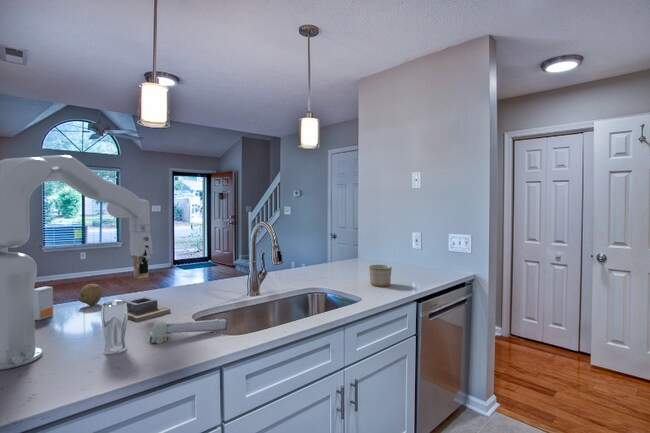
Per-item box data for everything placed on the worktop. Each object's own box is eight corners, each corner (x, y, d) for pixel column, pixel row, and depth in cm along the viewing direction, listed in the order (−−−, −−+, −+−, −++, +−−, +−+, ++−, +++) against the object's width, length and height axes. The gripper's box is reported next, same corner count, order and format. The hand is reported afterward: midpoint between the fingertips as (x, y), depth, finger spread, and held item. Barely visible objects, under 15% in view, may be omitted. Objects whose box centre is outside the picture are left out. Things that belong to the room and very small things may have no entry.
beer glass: (123, 344, 112) (122, 298, 111) (132, 349, 107) (131, 302, 107) (98, 351, 107) (97, 303, 106) (107, 357, 102) (105, 307, 102)
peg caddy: (170, 312, 144) (170, 300, 144) (136, 321, 133) (136, 309, 133) (145, 304, 156) (145, 293, 156) (112, 312, 144) (112, 300, 144)
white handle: (228, 321, 123) (151, 323, 111) (226, 339, 123) (148, 344, 111) (224, 316, 128) (150, 318, 115) (222, 334, 128) (147, 338, 115)
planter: (366, 286, 191) (367, 267, 190) (371, 281, 202) (371, 264, 202) (389, 288, 187) (390, 269, 186) (392, 283, 199) (393, 265, 198)
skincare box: (39, 320, 134) (38, 290, 134) (30, 319, 135) (29, 289, 135) (54, 315, 140) (53, 286, 140) (45, 315, 141) (44, 286, 141)
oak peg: (148, 277, 144) (147, 253, 144) (138, 278, 141) (138, 254, 141) (143, 275, 147) (142, 252, 146) (133, 277, 143) (133, 253, 143)
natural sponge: (78, 310, 147) (77, 287, 147) (78, 305, 155) (77, 283, 154) (103, 306, 153) (103, 284, 152) (102, 301, 160) (101, 280, 160)
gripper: (159, 229, 141) (160, 273, 142) (138, 227, 151) (139, 268, 152) (141, 230, 135) (142, 276, 136) (120, 228, 145) (121, 271, 145)
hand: (140, 272), depth 144 cm, fingers closed on oak peg, 4 cm apart
